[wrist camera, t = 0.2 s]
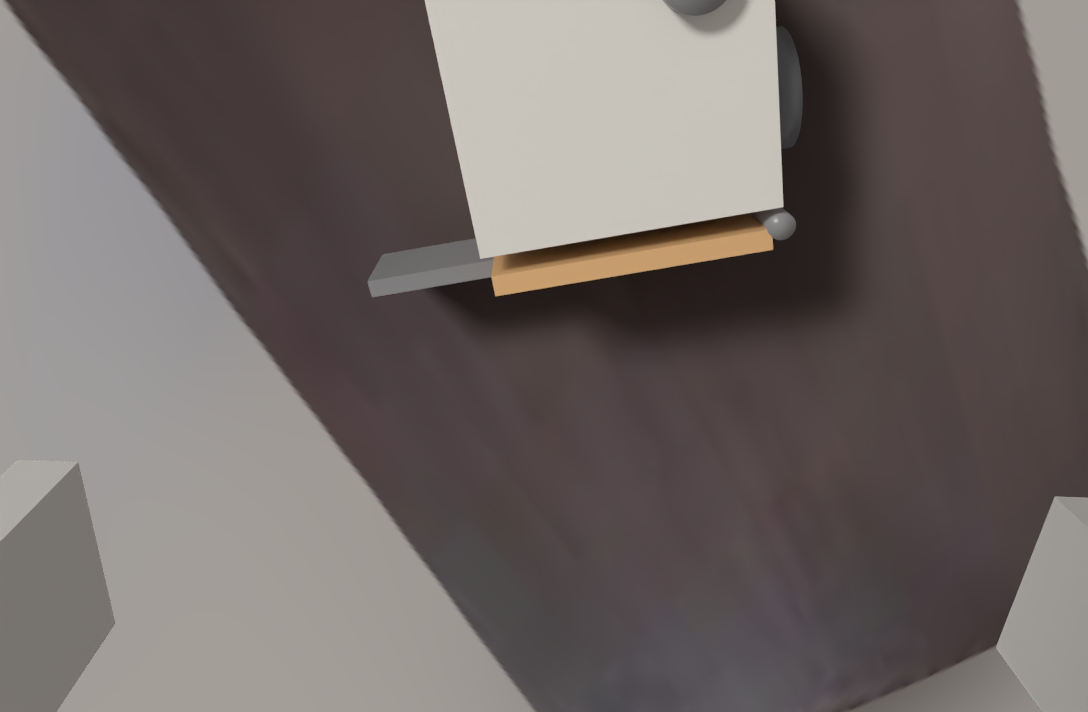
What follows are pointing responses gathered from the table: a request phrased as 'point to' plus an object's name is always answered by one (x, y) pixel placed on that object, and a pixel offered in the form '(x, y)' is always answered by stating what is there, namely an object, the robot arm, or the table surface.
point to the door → (581, 256)
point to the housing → (614, 113)
